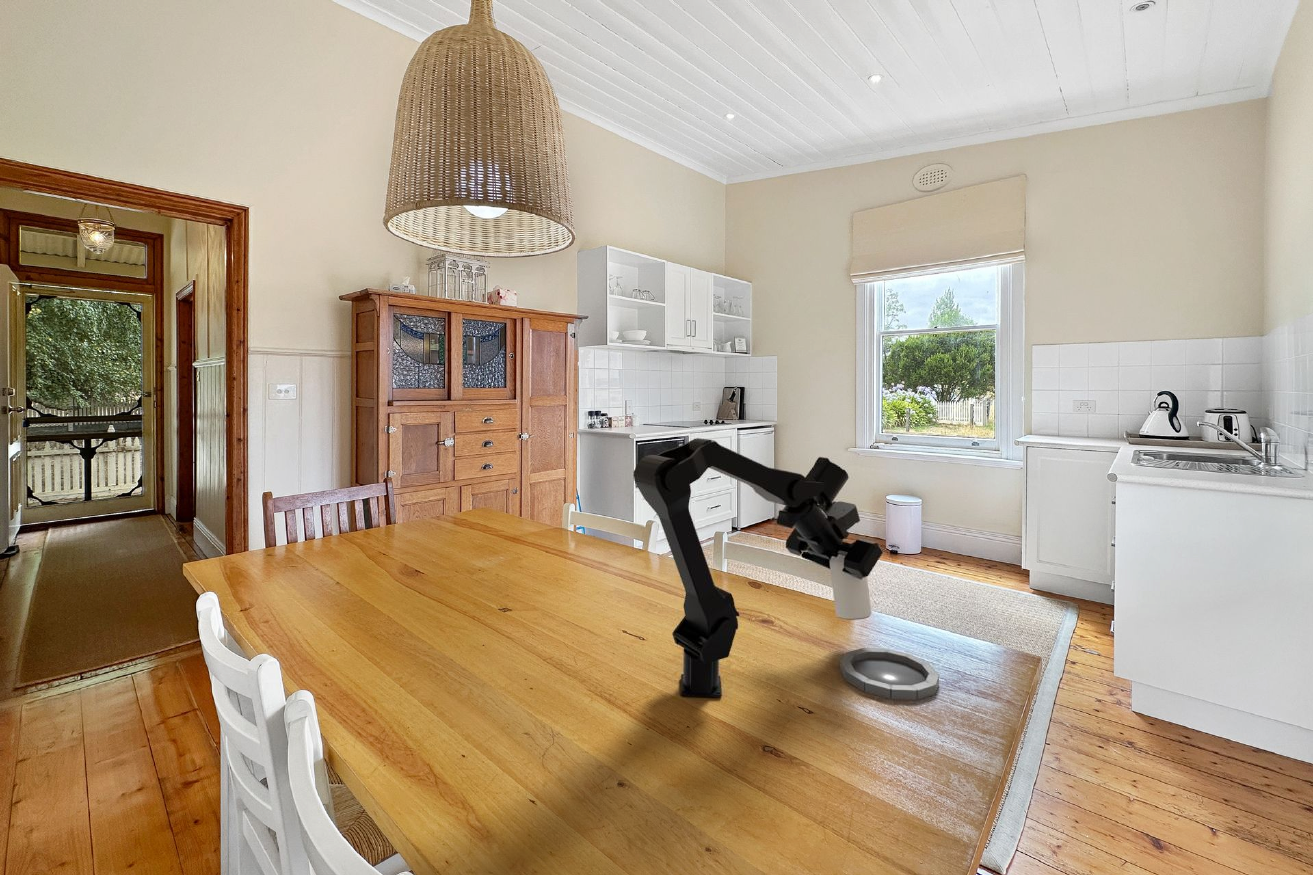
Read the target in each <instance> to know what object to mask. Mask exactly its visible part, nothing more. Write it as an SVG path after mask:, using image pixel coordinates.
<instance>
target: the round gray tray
mask: <svg viewBox="0 0 1313 875" xmlns="http://www.w3.org/2000/svg"><path fill="white" fill-rule="evenodd" d="M839 662H840V664H839V667H840V668H839V670H840V672H841V674H842V676H843V678H844V680H845V681H846V682H847V683H849V684H850V685H852V686H854V687H855V688H856V689H859V690H860V691H861V692H865V693H867V694H870V695H873V696H878V697H881V698H885V699H888V700H890V699H891V700H894V701H895V700H899V701H900V700H901V701H902V700H903V701H919V700H922V699H926V698H929V697H931V696H935V695H936V693H937V691H938V689H939V685H940V674H939V673H938V672H937V670H936V669H935V668H934V667H933V666H932V664H931V663H929V662H927V661H925V660H924V659H922V658H919V657H917V656H915V655H913V654H911V653H908V652H903V651H898V650H895V649H889V648H886V647H885V648H882V647H881V648H879V647H878V648H877V647H862V648H858V649H854V650H849V651H847V652H846V653H845V654H844V655H843V656H842V657H841V659H840V661H839Z"/></svg>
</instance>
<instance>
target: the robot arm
mask: <svg viewBox="0 0 1313 875" xmlns="http://www.w3.org/2000/svg"><path fill="white" fill-rule="evenodd" d="M708 469H711V470H713V471H716V472H718V473H720V474H723V475H725V476H727V477H728V478H729V477H730V478H732V479H734V480H737V481H739V482H741V483H743V484H746V485H748V486H749V487H750V488H752V489H753V491H754V492H755V493H756V495H759V496H760V497H761V498H762V499H764V500H766V501H767V502H771V503H775V504H778V505H783V506H784V507H783V509H779V511H778V516H777V518H776V522H775V523H776V524H777V526H781V527H785V528H787V529H792V528H793V527H794V529H792V532H790V534H789V536H788V537H787V538H786V539H785V548H786V549H787V551H788V552H789V553H790V554H793V555H795V556H798V557H800V556H801V558H802V559H805V560H807V561H809V562H812V563H815V564H816V565H819V566H821V567H824V568H826V569H828V570H830V559H831V557H834V558H837V556H838V554H841V555H844V556H845V558H844V568H843V570H842V571H843V572H845V573H847V574H849V575H851V576H853V577H855V578H858V579H860V580H862V578H863V577H868V576H870V574H871V572H872V571H873V569H874V567H875V566H876V564H877V562H878V561H879V560H880V558H881V556H882V555H883V553H884V552H883V549H882V548H881V546H880V544H879V543H878V542H877V541H874V540H873V541H872V540H868V539H865V538H857V539H855V541H854V542H851V543H850V542H847V541H844V540H847V538H848V537H849V535H850V533H849V532H848V530H849V529H851V528H852V527H853V526H854V525H856V524H858V523H859V522H860V521H861V519H860V516H859V515H860V514H859V511H858V508H857V505H856V504H855V503H852V502H851V503H850V502H846V501H842V500H841V501H835V499H836V498H837V496H838V495H839V493H840V491H841V490H842V489H843V487H844V486H845V484H846V483H847V481H848V480H849V477H850V476H849V474H848V472H847V471H846V470H845V469H843V468H842V467H840V466H839V465H838V464H836V463H835V462H832V461H830V459H829V458H828V457H823V456H819V457H818V458H817V459H816V460H815V462H814V464H813V466H812V467H811V468H810V470H809V471H808V473H807V475H806V476H804V475H803V474H801V473H798V472H792V471H788V470H783V469H778V468H772V467H768V466H766V465H764V464H762V463H760V462H759V461H758V462H757V461H756V460H753V459H751V458H749V457H747V456H744V455H742V454H740V453H738V452H736V451H734V450H732V449H729V448H727V447H725V446H723V445H720V443H718V442H717V441H716V440H712V439H707V438H700V437H699V438H698V437H697V438H693V439H692V440H689V441H687V442H685V443H683V444H681V445H678V446H676V447H673V448H670V449H667V450H664V451H662V452H660V453H658V454H655V455H653V454H648V455H645V456H644V457H642V458H641V459H640V460H639V461H638V462H637V464H636V466H635V468H634V470H633V480H634V483H635V485H636V487H637V489H638V490H639V492H640V494H641V496H642V497H643V499H644V501H646V503H648V505H649V506H650V508H651V509H652V510H654V512H655V513H656V515H657V516H658V518H659V521H660V524H661V526H662V530H663V533H664V535H665V539H666V541H667V544H668V546H669V549H670V552H671V555H672V557H673V561H674V562H675V566H676V569H677V572H678V574H679V577H680V579H681V582H682V585H683V588H684V592H685V596H684V601H683V612H684V617H683V618H682V619H681V620H680V622H679V623H678V625H677V626H676V627H675V629H673V632H672V637H673V640H674V643H675V644H676V645H677V646H679V647H681V648H683V651H682V652H683V659H682V660H683V662H682V664H683V667H682V668H683V669H682V670H683V673H681V675H680V691H679V692H680V696H681V697H698V698H699V697H700V698H701V697H702V698H722V697H723V693H722V681H721V679H722V678H721V675H720V660H723V659H728V658H729V656H730V652H731V649H732V646H733V642H734V639H735V636H736V632H737V631H738V629H739V621H738V618H737V617H739V616H740V613H739V611H737V608H736V605H735V599H734V597H733V595H732V593H731V592H729V591H727V590H724V589H723V588H719V587H718V586H716V584H715V582H714V579H713V576H712V574H711V570H710V567H709V564H708V562H707V559H706V555H705V552H704V550H703V547H702V544H701V541H700V538H699V535H698V533H697V530H696V527H695V524H694V520H693V518H692V515H691V512H690V508H689V505H690V500H691V495H692V494H691V493H692V489H691V484H692V483H694V482H696V481H698V480H700V478H701V477H702V476H703V475H704V474H705V473H706V471H707V470H708Z"/></svg>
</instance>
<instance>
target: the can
mask: <svg viewBox="0 0 1313 875" xmlns="http://www.w3.org/2000/svg"><path fill="white" fill-rule="evenodd" d="M844 558H845V556H844V555H841V554H838V556H837V558H834V557H831V559H830V569H829V570H830V576H831V584H832V585H831V588H832V592H833V593H832V594H833V600H834V601H833V603H834V610H835V611H834V612H835V615H836V616H837V617H838V619H842V620H847V621H849V620H850V621H855V620H865V619H868V618H870V617H871V615H872V612H873V611H872V603H871V594H870V587H869V577H868V576H867V577H863V578H862V580H860V579H858V578H855V577H853V576H851V575H849V574H847V573H845V572H843V571H842V570H843V568H844Z"/></svg>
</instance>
